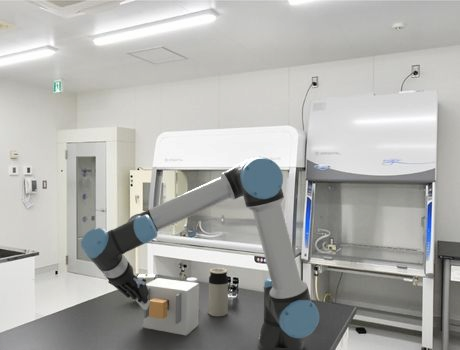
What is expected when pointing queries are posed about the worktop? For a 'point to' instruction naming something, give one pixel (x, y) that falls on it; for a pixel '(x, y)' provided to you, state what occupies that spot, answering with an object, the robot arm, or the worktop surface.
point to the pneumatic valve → (147, 277)
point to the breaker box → (174, 306)
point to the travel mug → (218, 292)
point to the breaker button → (158, 308)
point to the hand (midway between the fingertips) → (146, 305)
